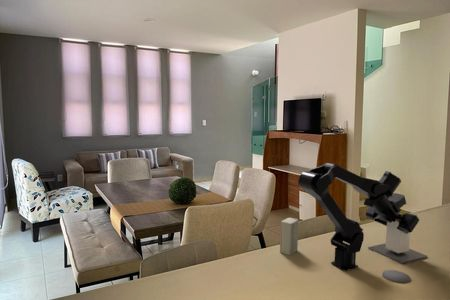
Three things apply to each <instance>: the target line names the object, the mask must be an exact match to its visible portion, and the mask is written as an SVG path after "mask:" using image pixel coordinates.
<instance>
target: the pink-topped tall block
mask: <svg viewBox="0 0 450 300" xmlns="http://www.w3.org/2000/svg"><path fill="white" fill-rule="evenodd" d="M398 225H399V222H398V221H395V222H391V223H389V222H387V226H386V231H385V232H386V233H385V236H386V237H385V243H386V246H385V248H387V249H389V250H392V251H394V252H397V253H402V252H406V251H409V249H410V240H411V232H410V233H408V234H406V233H404V232H402V231H400V230H398V229H397V227H398Z"/></svg>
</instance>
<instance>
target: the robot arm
mask: <svg viewBox="0 0 450 300" xmlns="http://www.w3.org/2000/svg"><path fill="white" fill-rule="evenodd" d="M335 179H336V180H339V181H340V182H342V183H344V184H347V185H349V186H351V187H352V188H353V189H354V190H355V191H356V192H357V193H358V194H361V195H365V196H367V197H366V198H364V202H363V205H364V206H367V207H368V209H367V210H366V212H365V217H366V218H367V219H369V220H372V221H374V222H376V223H379V224H381V225H383V226H384V227H387V222H389V223H391V222H395V221H398V222H399V225H398V227H397V229H398V230H400V231H402V232H404V233H406V234H408V233H410V234H411V233H412V232H413V231H414V229H415V228H416V226H417V225H418V223H419V221H420V218H419V217H418V216H417V215H416V214H413V213H409V212H405V213H403V214H400V212H401V208H402V207H404V205H407V200H406V197H405V195H404V194H402V193H397V192H396V190H397V188H398V187H399V185H400V184H401V183H402V180H401V178H400V177H398V176H396V175H395V174H393V173H392V172H391V171H387V170H386V171H384V173H383V175H382V176H381V177H380V179H379V180H377V179H373V178H367V177H362V176H360V175H358V174H356V173H355V172H352V171H350V170H348V169H346V168H344V167H342V166H340V165H339V164H336V163H330V162H326V163H324V164H323V165H320V166H317V167H314V168H311V169H309V170H304V171H302V172H301V173H300V175H299V176H298V181H297V182H298V187H300V188H301V189H302V190H304V192H306V193H307V194H308V195H310V197H312V198H314V199H315V200H316V202H317V203H318V205H319V206H320V207H321V209H322V210H323V212H324V213H325V215H327V217H328V218H329V220H330V221H331V223H332V224H333V225H334V234H333V235H332V237H331V238H330V244H331V246H333V247H335V248H334V261H330V264H331V265H333V266H335V267H336V268H338V269H340V270H342V271H345V272H346V271H349V270H354V269H358V268H359V265H358V264H356V257H357V253H358V252H361V249H362V245H363V242H364V236H365V234H364V232H363V231H364V228H362V227H361V225H360V223H359V222H358V221H356V220H353V219H351V218H348V217H347V216H346V215H345V214H344V212H343V211H342V209H341V207H340V206H339V205H338V204H337V202H336V201H335V199H334V198H333V196H332V195H331V194H330V191H329V190H330V189H329V187H330V185H331V184H332V183H333V181H334V180H335Z"/></svg>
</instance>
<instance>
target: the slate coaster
mask: <svg viewBox="0 0 450 300" xmlns="http://www.w3.org/2000/svg"><path fill="white" fill-rule="evenodd" d="M381 275H382V277H383V278H385V279H386V280H388V281H390V282H393V283H399V284H406V283H409V282H411V277H410V275H408V274H407V273H406V272H403V271H399V270H394V269H386V270H384V271H382V273H381Z"/></svg>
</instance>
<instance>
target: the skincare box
mask: <svg viewBox="0 0 450 300" xmlns="http://www.w3.org/2000/svg"><path fill="white" fill-rule="evenodd" d="M279 233H280V235H279V236H280V238H279V240H280V241H279V252H280V254H284V255H287V256H291V255H292V254H294V253H296V252H297V251H298V246H299V245H298V241H299V219H297V218H292V217H287V218H284V219H283V220H281V221H280V232H279Z"/></svg>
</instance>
